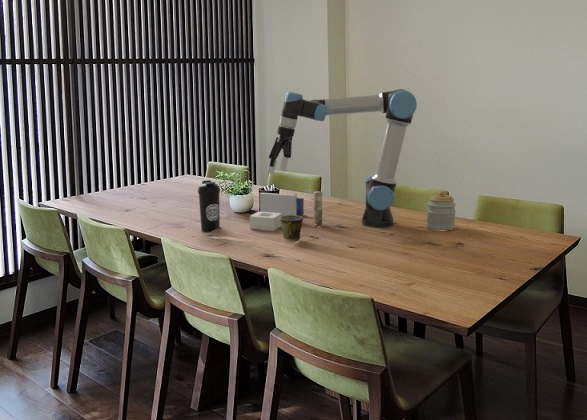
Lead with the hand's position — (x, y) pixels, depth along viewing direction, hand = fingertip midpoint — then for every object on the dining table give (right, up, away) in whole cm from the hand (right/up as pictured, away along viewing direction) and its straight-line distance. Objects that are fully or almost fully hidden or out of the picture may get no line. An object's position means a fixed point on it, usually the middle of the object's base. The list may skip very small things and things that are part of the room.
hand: (276, 172), depth 321 cm
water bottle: (-31, -27, +9) cm, 42 cm away
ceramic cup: (+7, -31, -11) cm, 34 cm away
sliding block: (-5, -25, +7) cm, 27 cm away
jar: (+76, -26, +6) cm, 81 cm away
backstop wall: (-3, -26, +11) cm, 28 cm away
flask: (+9, -20, +37) cm, 43 cm away
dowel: (+19, -24, +15) cm, 35 cm away
